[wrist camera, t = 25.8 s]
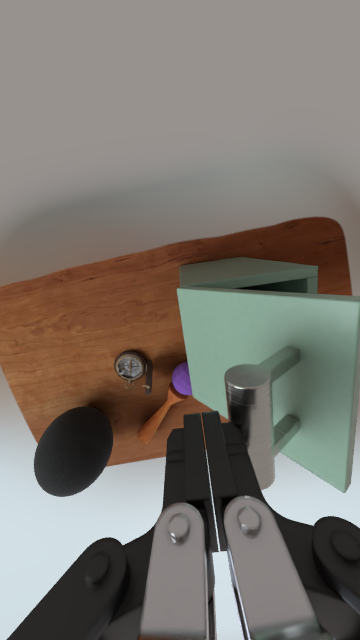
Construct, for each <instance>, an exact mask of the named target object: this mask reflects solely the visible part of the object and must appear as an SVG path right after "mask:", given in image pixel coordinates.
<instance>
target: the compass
mask: <svg viewBox="0 0 360 640" xmlns="http://www.w3.org/2000/svg"><path fill="white" fill-rule="evenodd" d="M114 367H115V371H116V373H117V374H118V375H119V376H120V377H121V378H123V379H125V380H129V381H127V382H128V383H129V384H131V382H132V381H133V380H137V379H139V378H141V377H142V376H143V375H144V373H145V372H146V385H144V386H145V387H146V388H145V390H146V391H145V395H150V393H151V389H152V372H153V365H152V361H151V360H147V364H146V361H145V359H144V357H143V356H142V355H141V354H139V353H137V352H135V351H125V352H123V353H121V354H120V355H119V356H118V357H117V358H116V360H115V364H114ZM127 382H126V383H127ZM126 383H125V387H126ZM132 383H133V382H132ZM133 385H134V383H133ZM133 387H134V386H133ZM133 387H132V388H133ZM126 388H127V387H126ZM132 388H127V389H132Z"/></svg>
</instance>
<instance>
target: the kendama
mask: <svg viewBox="0 0 360 640" xmlns="http://www.w3.org/2000/svg"><path fill="white" fill-rule="evenodd" d="M188 395H192V387H191V381H190V374H189V367H188V362H183V363H181V364H179V365H178V366H177V367H176V368H175V369H174V371H173V375H172V382H171V383H170V385H169V391H168V398H167V402H166V403H165V404H164V405H163V406H162V407H161V408H160V409H159V410H158V411H157V412H156V413H155V414H154V415H153V416H152V417H151V418H150V419H149V420H148V421H147V422H146V423H145V424H144V425H143V426H142V427H141V428H140V429H139V430H138V431H137V437H138V439H139V440H140V441H141V442H143V443H149V442H150V441H151V439H152V437H153V435H154V434H155V432H156V430H157V429H158V427H159V425H160V423H161V422H162V420H163V418H164V417H165V415H166V413H167V411H168V410H169V408H170V406H171V405H172V404H174V403H177V402H179V401H182V400H184V399H187V397H188Z"/></svg>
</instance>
